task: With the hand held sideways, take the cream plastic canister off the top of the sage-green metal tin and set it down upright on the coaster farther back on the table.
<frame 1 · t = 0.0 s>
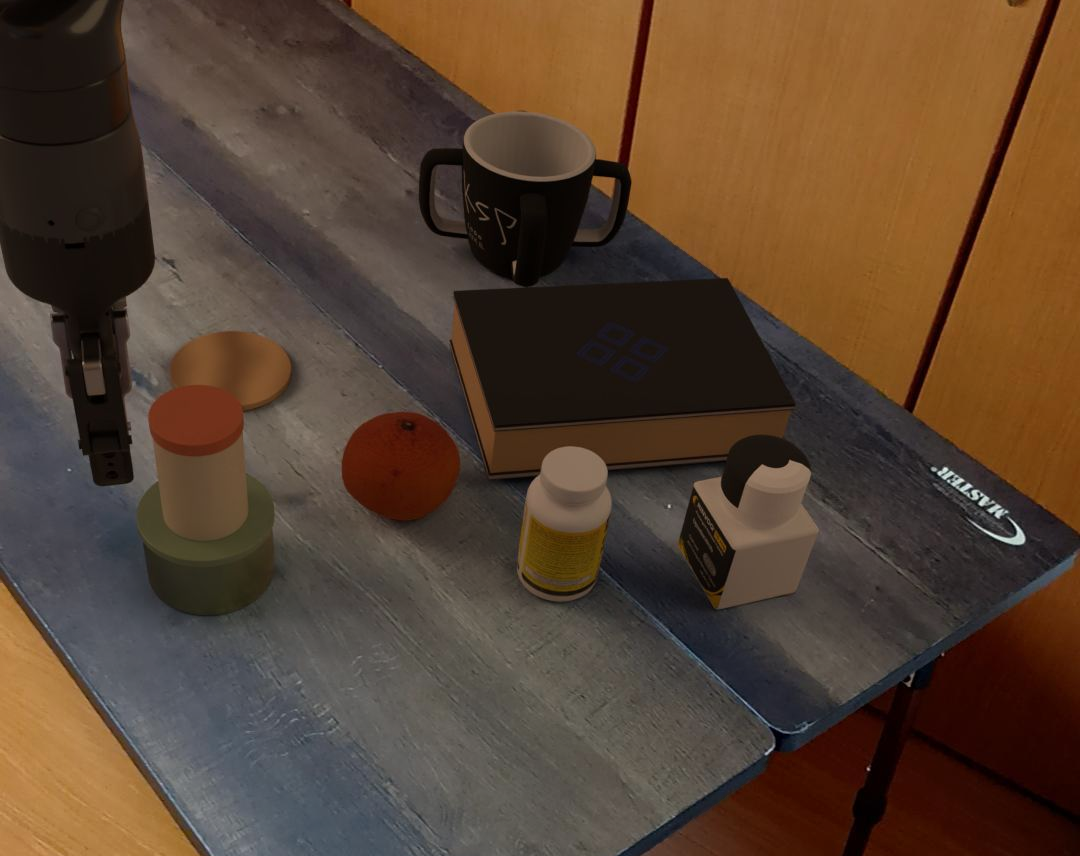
hand: (109, 431, 78), 19 cm above the table, tool pointing down, fingers open, 8 cm apart
pill bottle: (556, 575, 100), on the table
book: (608, 408, 114), on the table
medicine bottle: (735, 571, 103), on the table
coaster: (231, 373, 112), on the table
canister: (205, 511, 92), point 6 cm above the table, touching tin
fruit: (399, 499, 104), on the table
tin: (211, 568, 97), on the table, touching canister
mug: (517, 256, 129), on the table
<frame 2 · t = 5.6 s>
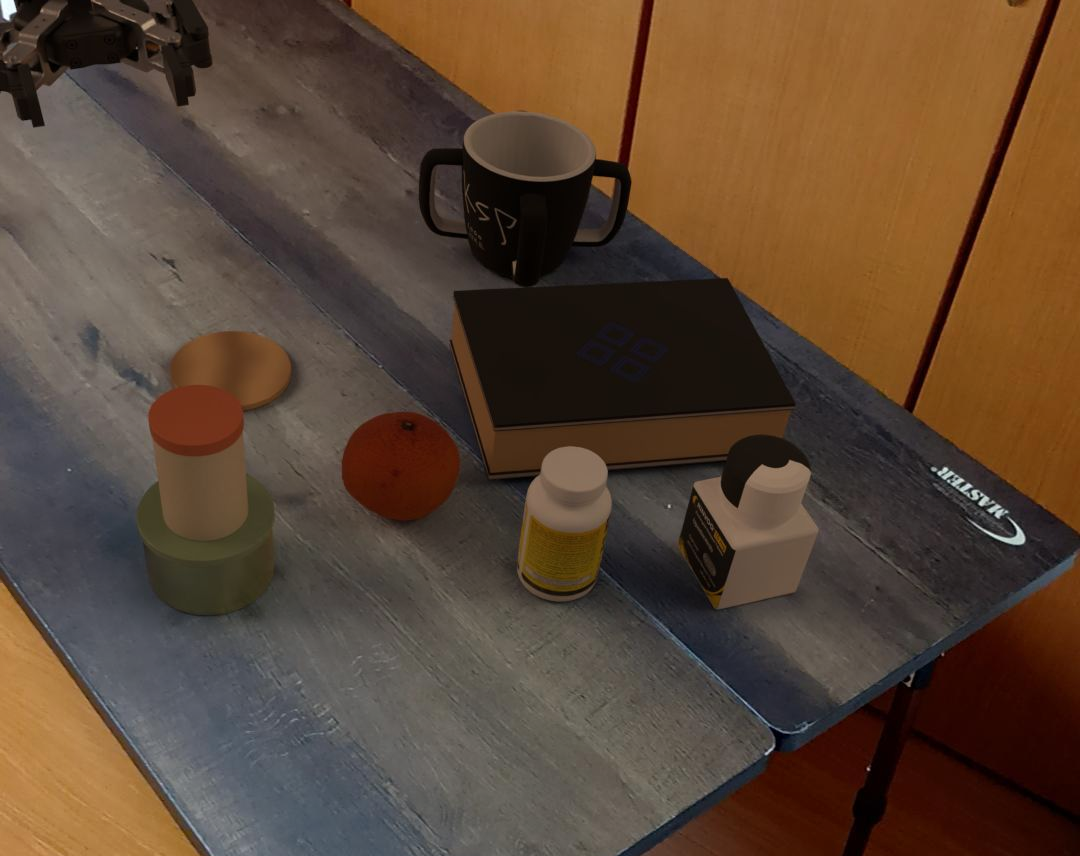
hand: (110, 103, 79), 32 cm above the table, tool horizontal, fingers open, 8 cm apart
nothing on the table moved.
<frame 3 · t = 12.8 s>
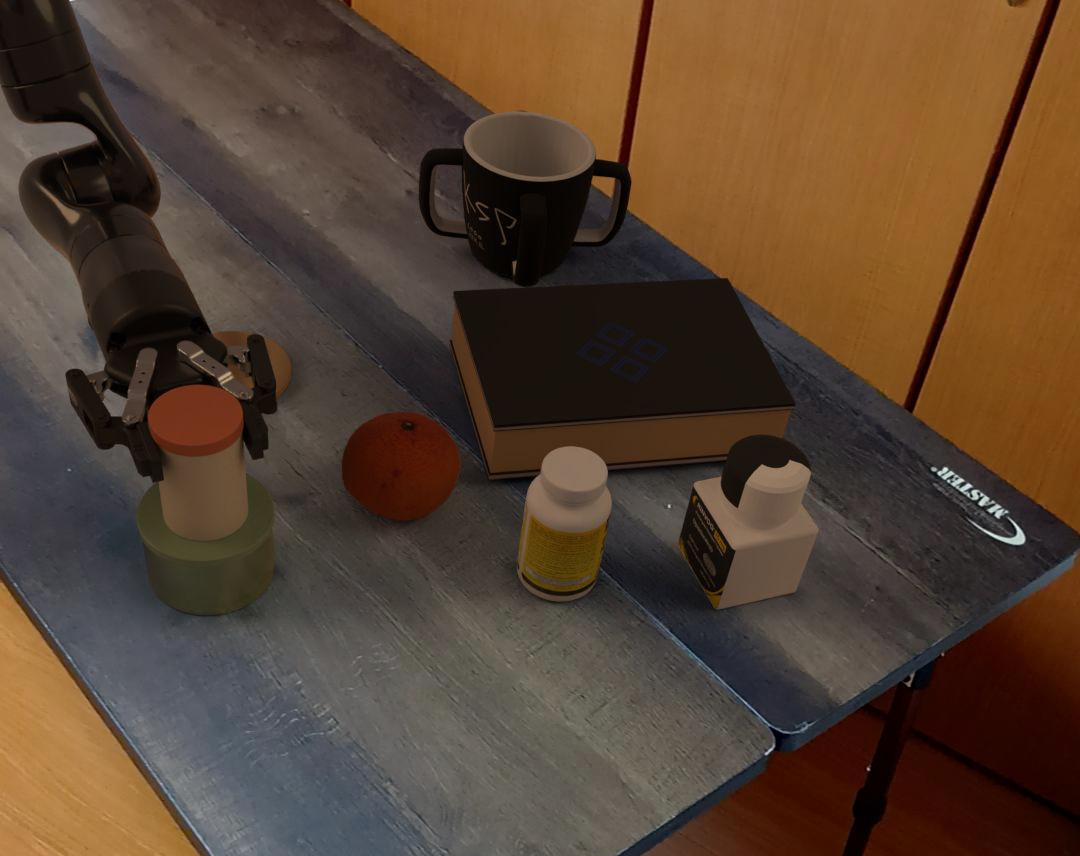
hand: (208, 460, 86), 13 cm above the table, tool horizontal, fingers closed on canister, 6 cm apart
canister: (206, 511, 92), point 6 cm above the table, touching gripper, tin
everything else where it was.
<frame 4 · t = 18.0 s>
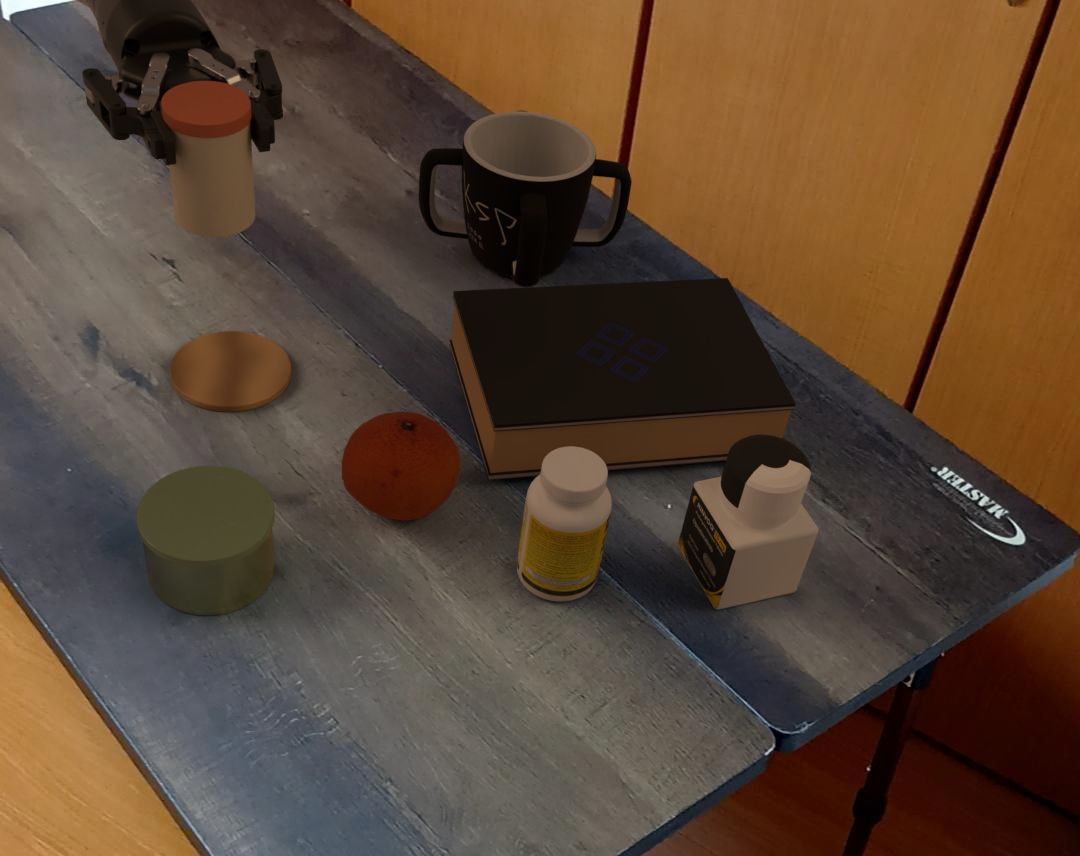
hand: (218, 146, 91), 24 cm above the table, tool horizontal, fingers closed on canister, 6 cm apart
canister: (215, 214, 97), point 17 cm above the table, touching gripper
tin: (211, 568, 97), on the table
everything else where it was.
when the fingers open (8 cm above the table, at t = 23.2 s): canister stays where it is, resting on coaster.
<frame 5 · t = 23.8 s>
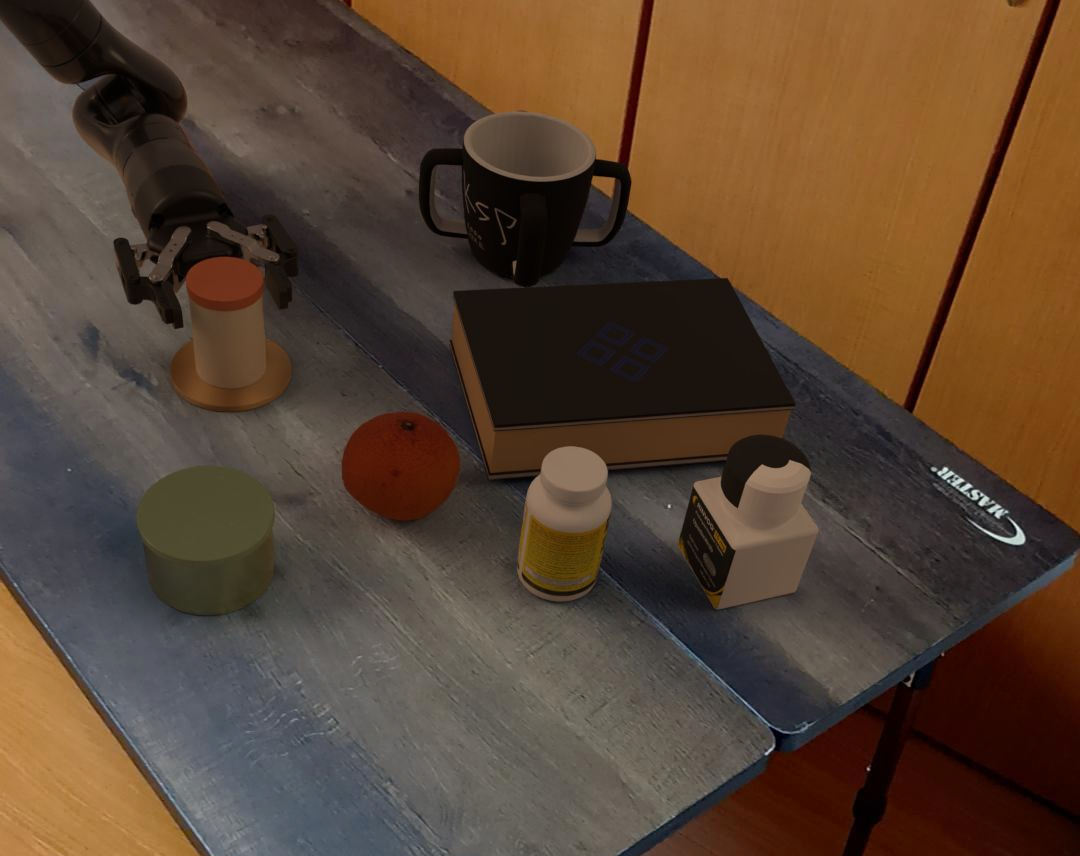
hand: (232, 309, 105), 8 cm above the table, tool horizontal, fingers open, 8 cm apart
canister: (231, 366, 111), point 1 cm above the table, touching coaster
everything else where it was.
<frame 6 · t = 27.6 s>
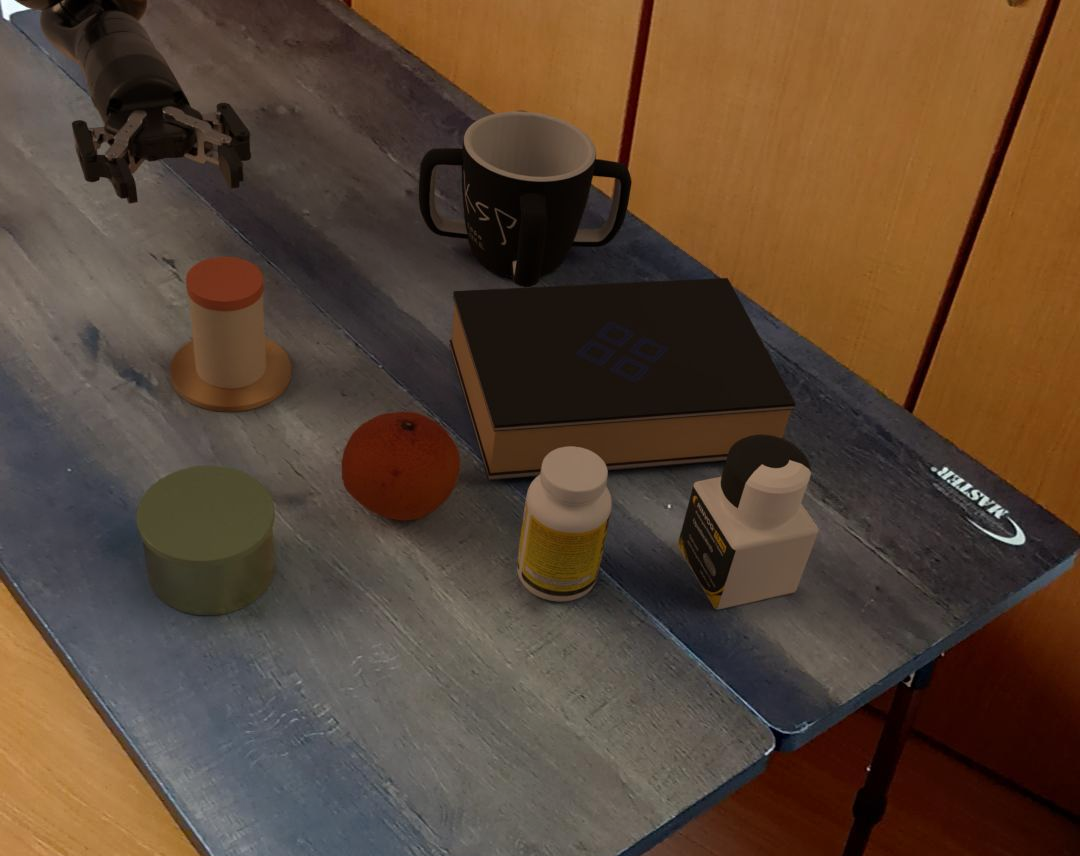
hand: (184, 186, 110), 12 cm above the table, tool horizontal, fingers open, 8 cm apart
nothing on the table moved.
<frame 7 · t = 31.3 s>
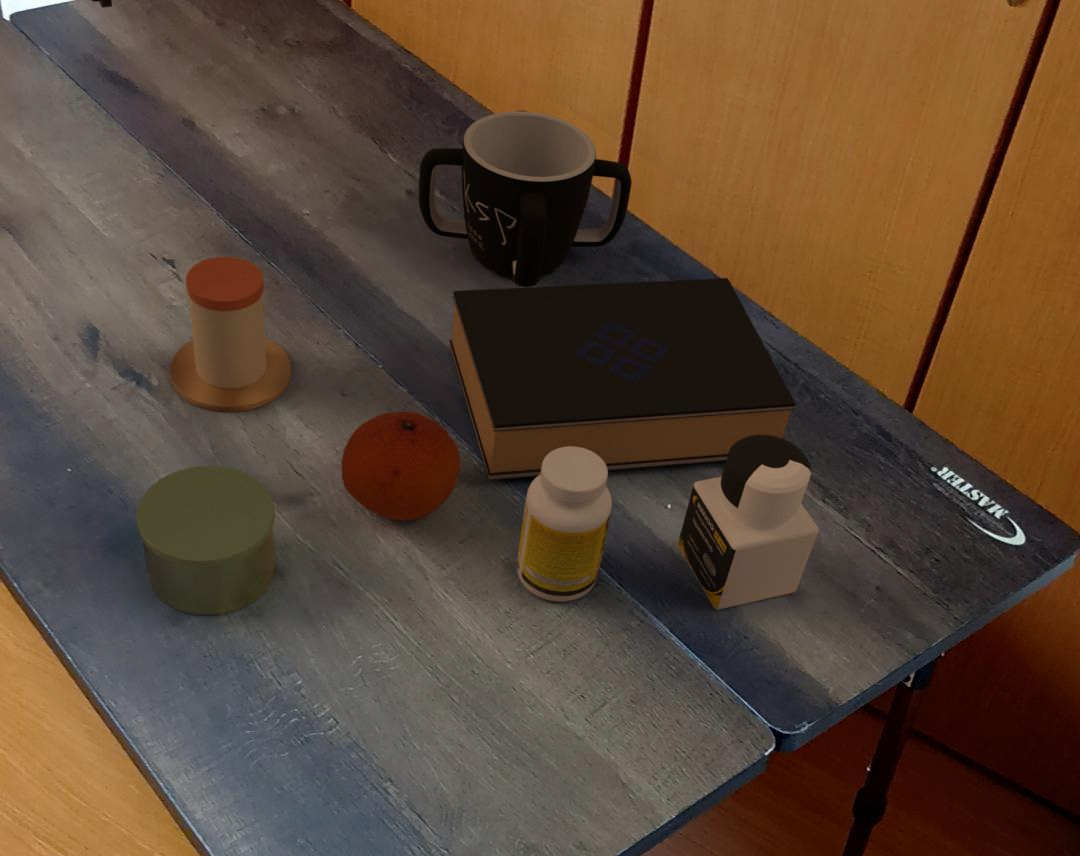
nothing on the table moved.
at the end: canister 0.1 cm off-centre on the coaster, point 0.6 cm above the coaster's base; canister tilted 0°; tin moved 0.0 cm from its start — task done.
